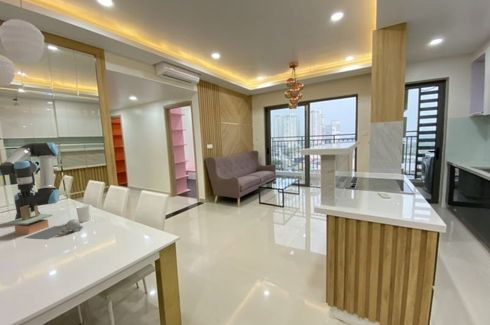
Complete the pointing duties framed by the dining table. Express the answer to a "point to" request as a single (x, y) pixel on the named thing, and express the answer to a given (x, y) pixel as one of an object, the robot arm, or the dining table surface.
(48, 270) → the dining table surface
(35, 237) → the mat
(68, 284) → the dining table surface
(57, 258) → the dining table surface
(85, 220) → the candle holder
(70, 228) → the round bodied animal figurine
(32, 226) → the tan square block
